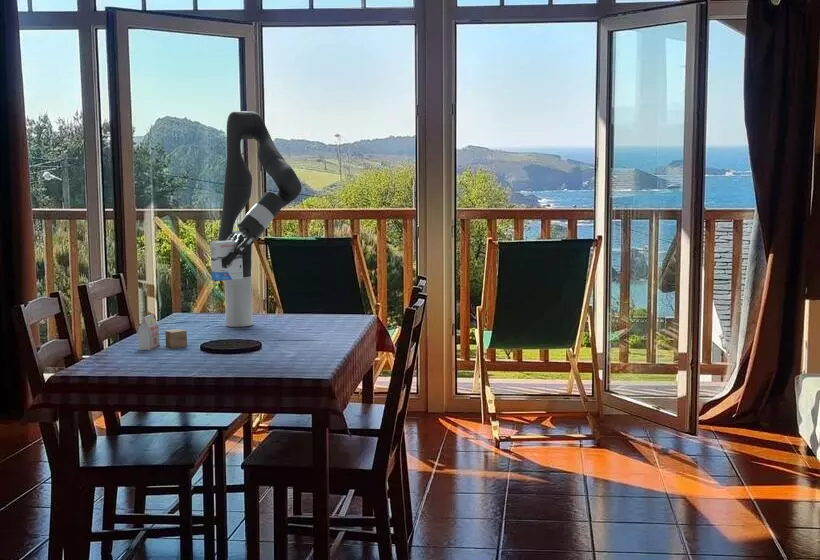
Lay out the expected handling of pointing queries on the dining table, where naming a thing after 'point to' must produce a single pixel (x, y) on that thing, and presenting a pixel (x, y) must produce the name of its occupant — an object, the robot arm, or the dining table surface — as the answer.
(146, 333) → the white carton
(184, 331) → the walnut cube
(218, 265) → the ink box
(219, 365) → the dining table surface
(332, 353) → the dining table surface
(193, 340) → the dining table surface
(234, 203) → the robot arm
